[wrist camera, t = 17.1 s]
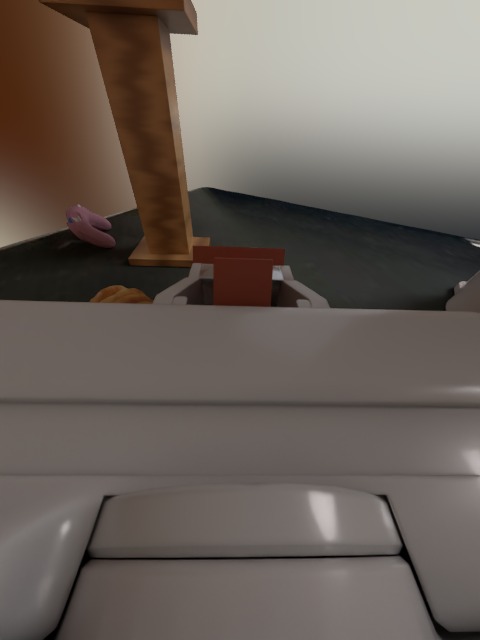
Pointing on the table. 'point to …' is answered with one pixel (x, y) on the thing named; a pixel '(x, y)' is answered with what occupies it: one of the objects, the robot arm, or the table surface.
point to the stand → (145, 113)
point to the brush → (240, 273)
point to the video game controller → (89, 226)
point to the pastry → (121, 296)
